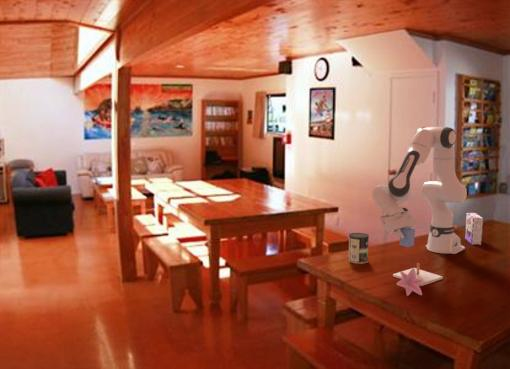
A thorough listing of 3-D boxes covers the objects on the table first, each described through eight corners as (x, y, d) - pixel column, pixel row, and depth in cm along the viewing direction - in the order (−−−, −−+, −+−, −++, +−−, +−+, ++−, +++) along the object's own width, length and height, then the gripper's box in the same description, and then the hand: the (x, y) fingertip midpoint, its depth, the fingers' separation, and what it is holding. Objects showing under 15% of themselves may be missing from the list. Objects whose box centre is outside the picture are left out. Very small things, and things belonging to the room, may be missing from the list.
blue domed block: (405, 243, 242) (406, 225, 241) (413, 245, 238) (414, 227, 237) (399, 245, 239) (400, 227, 238) (407, 247, 235) (408, 229, 234)
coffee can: (367, 258, 262) (368, 232, 260) (368, 264, 252) (369, 237, 250) (348, 257, 264) (348, 232, 262) (348, 263, 254) (348, 237, 252)
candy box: (464, 238, 301) (466, 212, 298) (474, 239, 300) (476, 212, 297) (471, 244, 287) (472, 217, 284) (481, 245, 286) (483, 217, 284)
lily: (391, 296, 212) (399, 281, 206) (392, 278, 221) (400, 263, 216) (418, 306, 211) (427, 291, 205) (418, 287, 220) (426, 272, 215)
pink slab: (413, 270, 243) (414, 256, 242) (442, 278, 230) (443, 264, 229) (392, 276, 234) (393, 262, 233) (421, 286, 221) (421, 270, 220)
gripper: (382, 212, 236) (398, 236, 230) (410, 207, 248) (425, 230, 241) (375, 220, 240) (390, 243, 234) (402, 215, 252) (417, 237, 245)
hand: (408, 237), depth 238 cm, fingers closed on blue domed block, 5 cm apart
